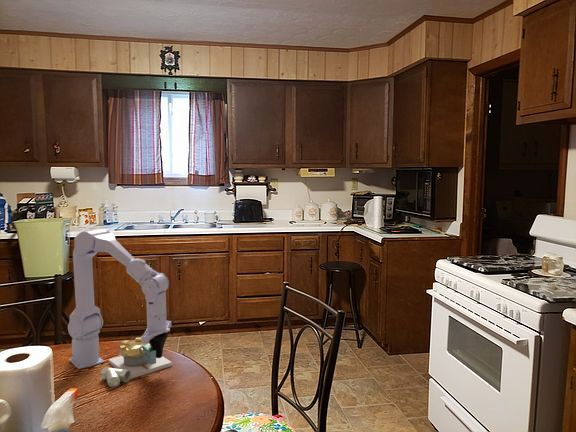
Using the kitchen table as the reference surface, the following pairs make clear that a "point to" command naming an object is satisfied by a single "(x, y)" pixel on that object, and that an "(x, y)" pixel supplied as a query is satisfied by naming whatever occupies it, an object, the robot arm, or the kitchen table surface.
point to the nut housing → (139, 365)
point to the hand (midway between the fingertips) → (157, 357)
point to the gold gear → (138, 350)
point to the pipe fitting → (115, 376)
